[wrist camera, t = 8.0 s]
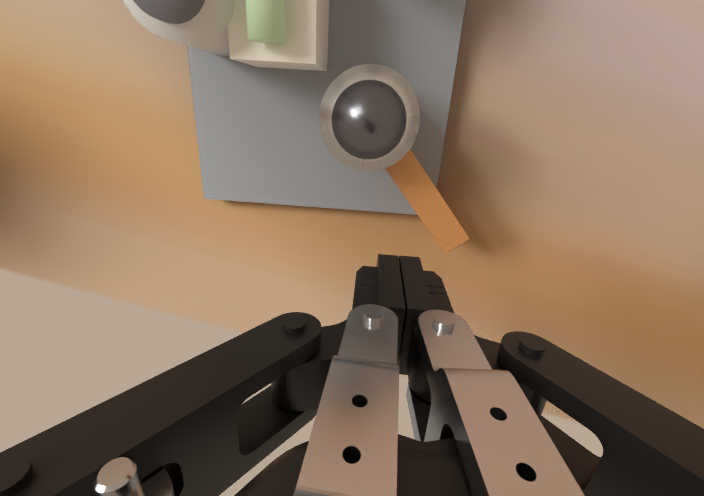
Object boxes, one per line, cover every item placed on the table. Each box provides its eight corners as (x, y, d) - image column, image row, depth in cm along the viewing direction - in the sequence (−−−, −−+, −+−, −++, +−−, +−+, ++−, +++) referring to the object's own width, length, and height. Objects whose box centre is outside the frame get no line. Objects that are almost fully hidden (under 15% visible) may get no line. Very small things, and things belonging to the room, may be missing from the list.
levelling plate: (167, -261, 18) (17, -519, 10) (499, -254, 17) (593, -526, 10) (213, 193, 27) (150, 228, 20) (429, 210, 27) (450, 251, 19)
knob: (317, 108, 23) (296, 109, 17) (380, 55, 21) (381, 36, 15) (417, 246, 26) (429, 289, 20) (478, 208, 25) (510, 243, 18)
